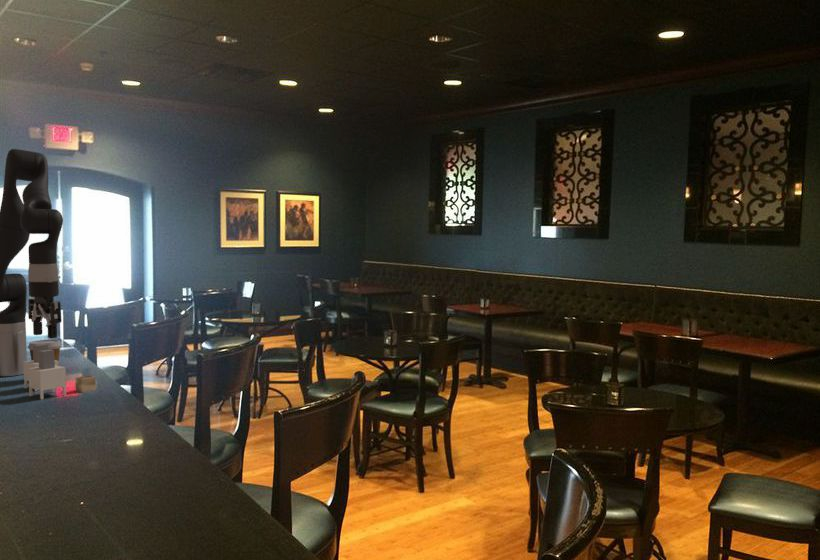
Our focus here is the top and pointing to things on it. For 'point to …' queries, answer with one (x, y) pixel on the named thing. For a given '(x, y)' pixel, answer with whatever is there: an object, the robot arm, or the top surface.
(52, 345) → the disposable coffee cup
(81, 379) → the letter cube
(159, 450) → the top surface
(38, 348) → the cover
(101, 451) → the top surface
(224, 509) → the top surface
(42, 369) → the cover
